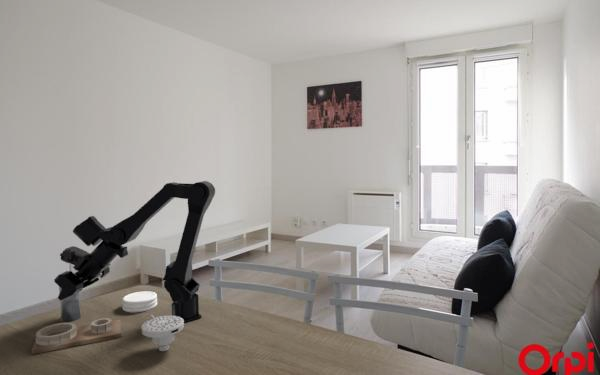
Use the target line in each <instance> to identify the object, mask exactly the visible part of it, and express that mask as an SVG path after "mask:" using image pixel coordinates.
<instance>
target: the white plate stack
mask: <svg viewBox="0 0 600 375" xmlns="http://www.w3.org/2000/svg"><path fill="white" fill-rule="evenodd" d="M121 302H122V304H121V306H122V310H123V311H124V312H125V313H134V314H135V313H142V312H146V311H150V310H153V309H154V308H156V306H158V294H157V293H156V292H154V291H150V290H148V291H147V290H144V291H136V292H133V293H132V292H131V293H129V294H126V295H125V296H123V298H122V299H121Z"/></svg>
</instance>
